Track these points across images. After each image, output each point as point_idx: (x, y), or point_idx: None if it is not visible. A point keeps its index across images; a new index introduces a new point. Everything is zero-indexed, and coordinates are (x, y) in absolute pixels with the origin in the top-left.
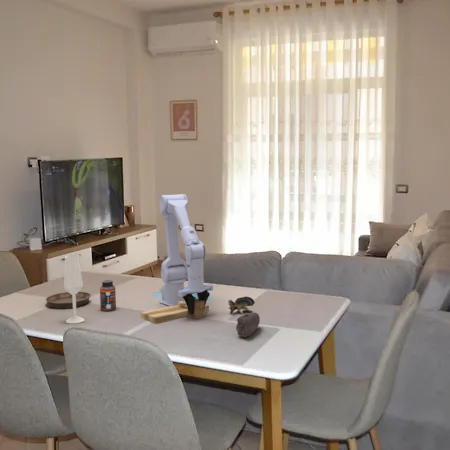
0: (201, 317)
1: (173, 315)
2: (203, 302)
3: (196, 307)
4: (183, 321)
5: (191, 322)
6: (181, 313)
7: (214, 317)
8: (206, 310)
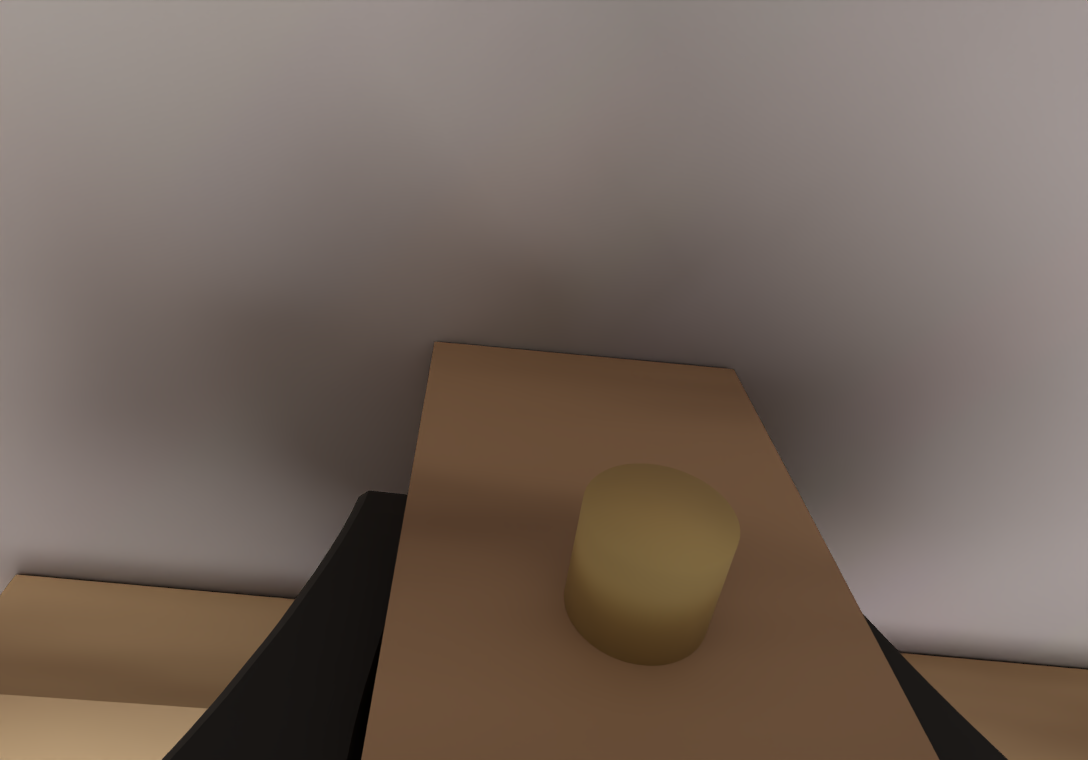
0: (552, 354)
1: (1027, 733)
2: (433, 741)
3: (847, 619)
4: (1044, 455)
5: (1061, 260)
6: None
7: (257, 55)
8: (91, 601)
